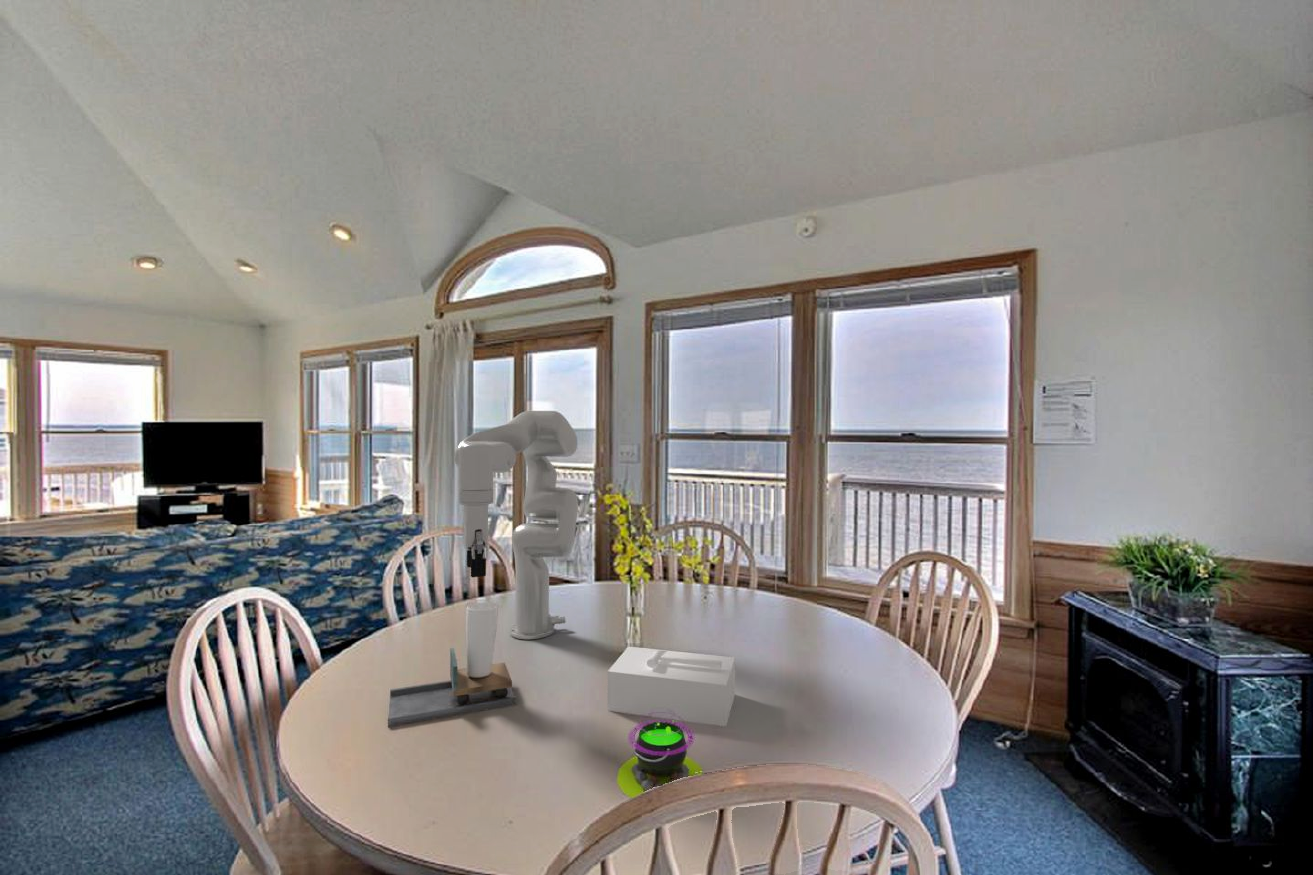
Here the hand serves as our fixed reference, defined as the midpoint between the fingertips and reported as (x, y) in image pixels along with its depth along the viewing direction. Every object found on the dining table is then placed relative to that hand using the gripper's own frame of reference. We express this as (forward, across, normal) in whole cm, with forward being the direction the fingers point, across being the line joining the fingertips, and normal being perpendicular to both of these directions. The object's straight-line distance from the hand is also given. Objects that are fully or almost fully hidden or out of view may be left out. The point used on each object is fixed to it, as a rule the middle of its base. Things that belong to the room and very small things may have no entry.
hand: (476, 571), depth 134 cm
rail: (+26, +6, -6) cm, 28 cm away
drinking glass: (+22, +5, 0) cm, 22 cm away
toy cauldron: (+27, +48, +26) cm, 61 cm away
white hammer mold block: (+27, +24, +39) cm, 53 cm away
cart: (+26, +6, 0) cm, 27 cm away
